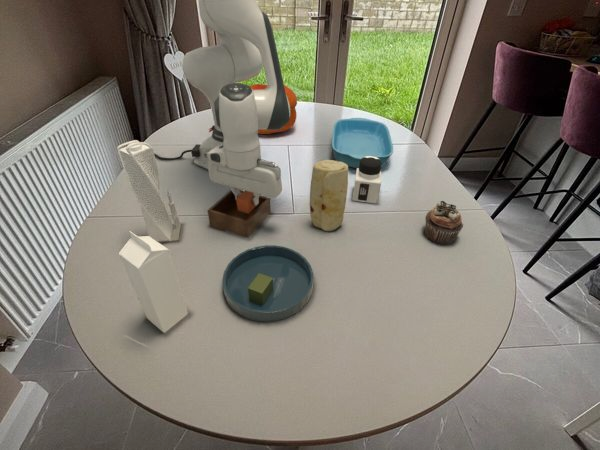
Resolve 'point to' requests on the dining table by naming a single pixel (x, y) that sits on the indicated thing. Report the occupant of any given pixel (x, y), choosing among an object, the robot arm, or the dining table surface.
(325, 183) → the food model
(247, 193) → the orange block
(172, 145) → the dining table surface
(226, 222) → the holder
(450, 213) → the cupcake
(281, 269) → the bowl
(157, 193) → the skyscraper
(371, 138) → the casserole dish
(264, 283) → the green cube
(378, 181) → the container
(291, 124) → the pumpkin
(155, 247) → the milk
